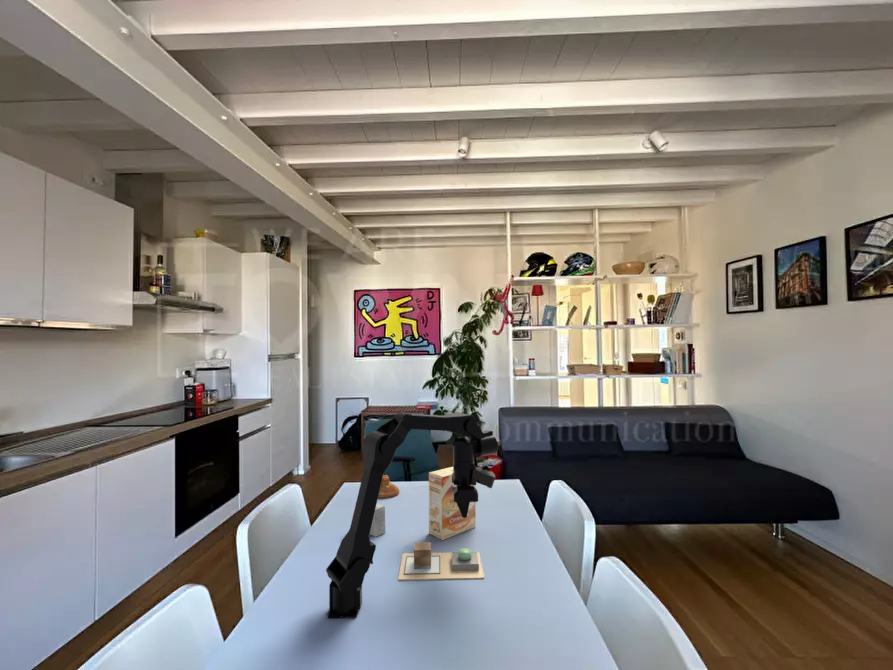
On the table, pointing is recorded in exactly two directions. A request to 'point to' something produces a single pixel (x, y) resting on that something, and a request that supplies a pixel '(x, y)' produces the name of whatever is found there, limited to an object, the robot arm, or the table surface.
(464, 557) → the button
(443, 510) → the coffeecake box
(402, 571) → the tan rectangular board
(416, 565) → the block
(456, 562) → the button housing
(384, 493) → the bell
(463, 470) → the robot arm
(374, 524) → the medicine box
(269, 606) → the table surface
